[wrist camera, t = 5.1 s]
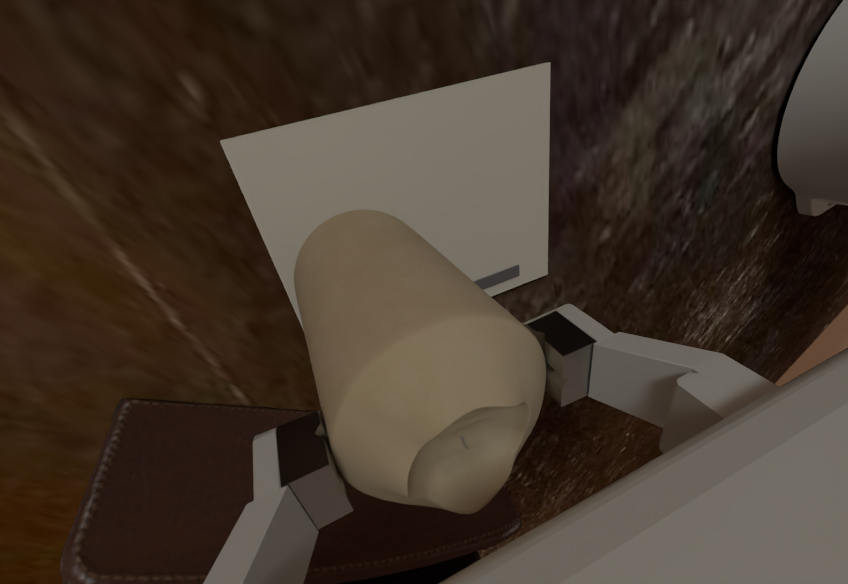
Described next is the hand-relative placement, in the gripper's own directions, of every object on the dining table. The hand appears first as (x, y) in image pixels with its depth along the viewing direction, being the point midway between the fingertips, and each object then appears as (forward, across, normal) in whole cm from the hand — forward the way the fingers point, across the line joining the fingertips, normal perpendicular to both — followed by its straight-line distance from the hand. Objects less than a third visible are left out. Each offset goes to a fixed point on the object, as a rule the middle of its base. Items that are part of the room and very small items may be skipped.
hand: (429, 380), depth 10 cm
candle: (+8, 0, 0) cm, 8 cm away
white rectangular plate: (+9, -4, 0) cm, 10 cm away
